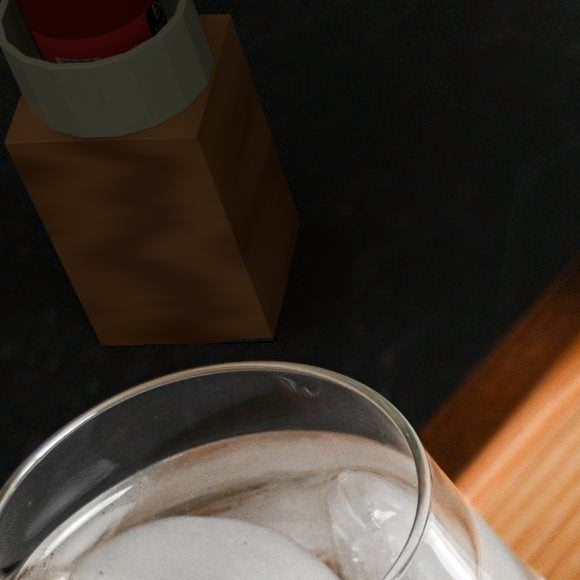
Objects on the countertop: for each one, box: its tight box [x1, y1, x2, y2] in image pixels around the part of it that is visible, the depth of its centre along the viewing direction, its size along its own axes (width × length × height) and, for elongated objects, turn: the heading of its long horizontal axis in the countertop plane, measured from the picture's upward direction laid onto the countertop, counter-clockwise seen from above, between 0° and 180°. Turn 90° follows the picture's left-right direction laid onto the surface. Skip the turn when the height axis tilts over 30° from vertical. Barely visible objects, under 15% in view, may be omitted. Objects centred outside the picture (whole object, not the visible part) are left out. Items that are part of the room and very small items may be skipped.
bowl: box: [0, 0, 214, 138], centre depth 119 cm, size 12×12×5 cm
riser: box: [4, 13, 302, 347], centre depth 128 cm, size 12×12×17 cm
